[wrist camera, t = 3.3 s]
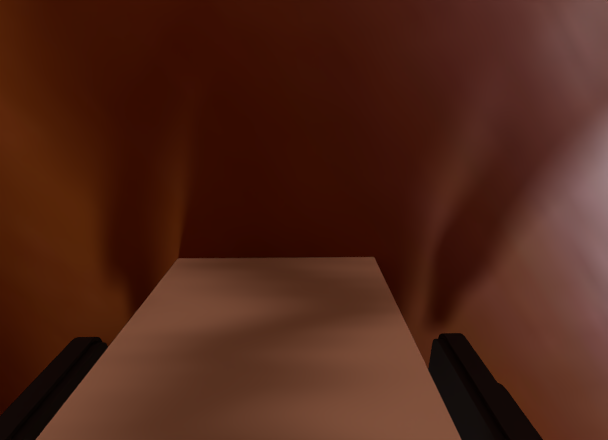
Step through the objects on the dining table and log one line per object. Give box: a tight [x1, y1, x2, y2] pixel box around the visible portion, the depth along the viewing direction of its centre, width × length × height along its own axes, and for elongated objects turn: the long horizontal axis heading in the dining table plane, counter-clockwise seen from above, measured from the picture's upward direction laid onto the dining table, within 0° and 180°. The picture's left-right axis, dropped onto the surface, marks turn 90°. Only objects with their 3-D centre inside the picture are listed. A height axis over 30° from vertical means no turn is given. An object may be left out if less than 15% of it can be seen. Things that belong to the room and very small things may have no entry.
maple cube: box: [36, 257, 461, 440], centre depth 8 cm, size 6×6×6 cm
